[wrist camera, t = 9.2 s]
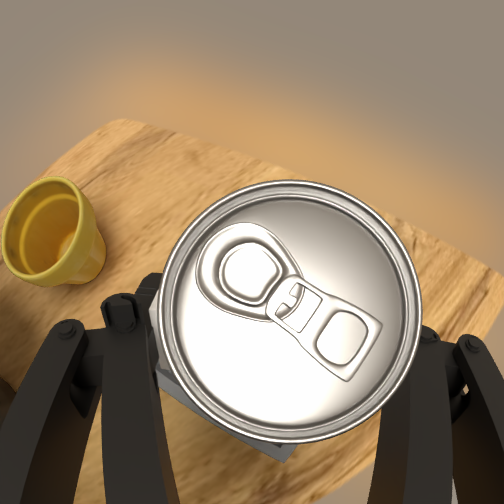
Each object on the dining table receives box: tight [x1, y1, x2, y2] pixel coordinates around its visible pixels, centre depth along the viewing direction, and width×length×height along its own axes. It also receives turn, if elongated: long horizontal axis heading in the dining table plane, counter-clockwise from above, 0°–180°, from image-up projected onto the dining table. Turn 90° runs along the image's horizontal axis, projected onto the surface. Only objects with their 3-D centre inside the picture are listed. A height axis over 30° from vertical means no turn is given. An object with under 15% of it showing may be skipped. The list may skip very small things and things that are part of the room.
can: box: [157, 179, 423, 444], centre depth 12 cm, size 6×6×12 cm
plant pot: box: [1, 176, 106, 287], centre depth 27 cm, size 10×10×10 cm
